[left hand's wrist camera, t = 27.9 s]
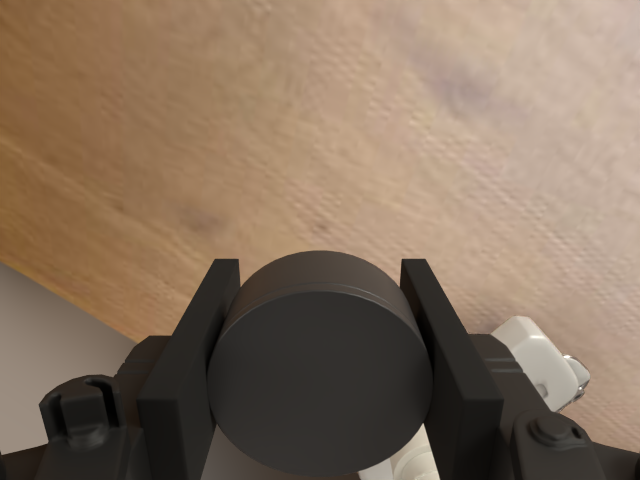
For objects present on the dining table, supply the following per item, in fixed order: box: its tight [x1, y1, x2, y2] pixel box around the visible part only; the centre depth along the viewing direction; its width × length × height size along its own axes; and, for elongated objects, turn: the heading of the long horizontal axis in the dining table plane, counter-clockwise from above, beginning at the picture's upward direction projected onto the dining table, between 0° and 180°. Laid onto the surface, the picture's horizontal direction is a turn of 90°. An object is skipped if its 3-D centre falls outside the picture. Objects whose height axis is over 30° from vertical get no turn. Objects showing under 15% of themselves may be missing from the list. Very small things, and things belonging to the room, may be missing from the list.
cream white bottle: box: [390, 424, 440, 480], centre depth 34 cm, size 5×5×19 cm
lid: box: [206, 251, 434, 477], centre depth 11 cm, size 5×5×2 cm
